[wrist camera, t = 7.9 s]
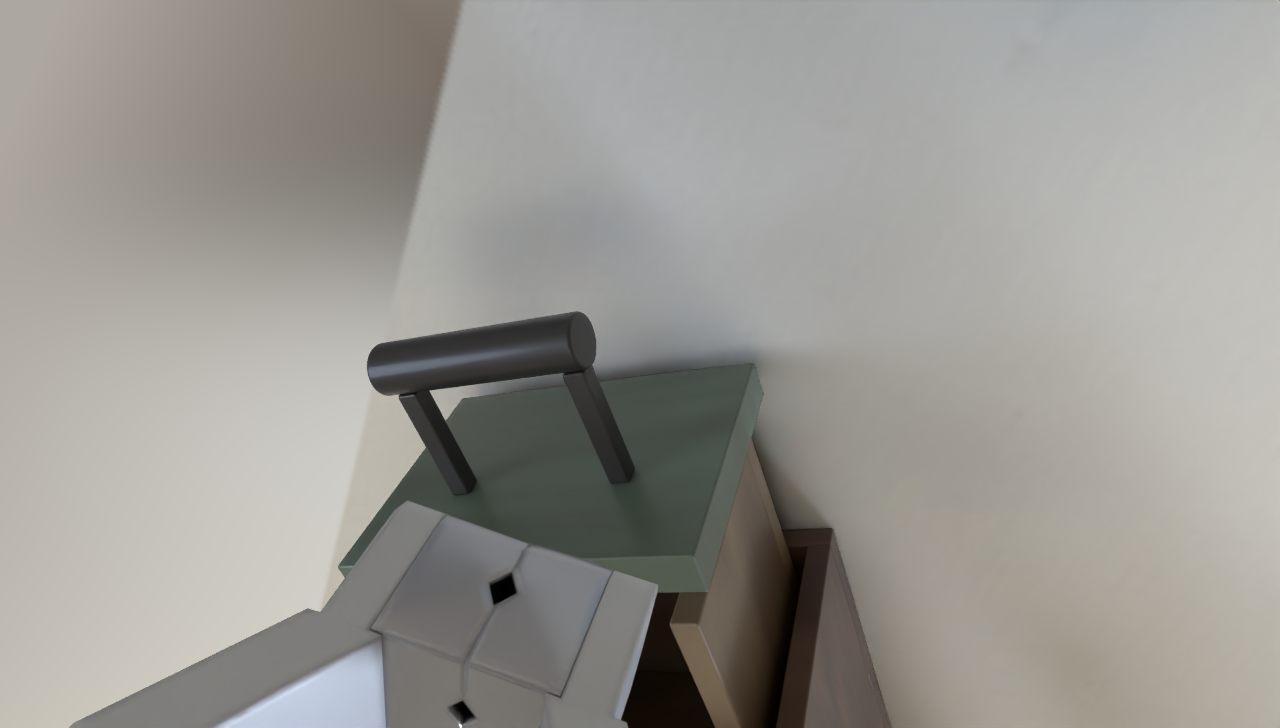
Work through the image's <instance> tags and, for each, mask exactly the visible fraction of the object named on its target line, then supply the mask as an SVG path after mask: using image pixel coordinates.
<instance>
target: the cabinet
mask: <svg viewBox="0 0 1280 728" xmlns="http://www.w3.org/2000/svg"><path fill="white" fill-rule="evenodd" d="M782 533H783V536H784V539H785V542H786V545H787V548H788V551H789V554H790V557H791V560H792V563H793V566H794V569H795V572H796V575H797V578H798V581H799V584H800V591H799V597H798V603H797V608H796V614H795V620H794V626H793V631H792V637H791V643H790V649H789V654H788V660H787V666H786V672H785V677H784V683H783V689H782V695H781V700H780V706H779V712H778V718H777V723H776V728H891V727H890V724H889V720H888V717H887V713H886V710H885V706H884V703H883V700H882V696H881V693H880V689H879V686H878V682H877V679H876V676H875V672H874V669H873V665H872V662H871V658H870V655H869V652H868V648H867V645H866V641H865V638H864V634H863V631H862V628H861V624H860V621H859V617H858V614H857V610H856V607H855V604H854V600H853V597H852V593H851V590H850V586H849V583H848V580H847V576H846V573H845V569H844V566H843V562H842V559H841V556H840V552H839V549H838V545H837V542H836V538H835V535H834V532H833V529H814V530H790V531H782Z"/></svg>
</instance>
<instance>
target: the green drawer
mask: <svg viewBox="0 0 1280 728" xmlns="http://www.w3.org/2000/svg"><path fill="white" fill-rule="evenodd" d="M595 356H596V338H595V333H594V330H593V327H592V324H591V322H590V320H589V319H588V317H587V316H586V315H585V314H583V313H581V312H577V311H576V312H570V313H564V314H558V315H552V316H546V317H540V318H533V319H527V320H521V321H515V322H509V323H503V324H497V325H491V326H484V327H478V328H472V329H466V330H460V331H454V332H448V333H442V334H435V335H429V336H423V337H417V338H411V339H405V340H399V341H392V342H386V343H381V344H378V345H377V346H375V347H374V348H373V349H372V351H371V352H370V354H369V357H368V361H367V371H368V376H369V379H370V382H371V384H372V385H373V387H374V388H375V389H376V390H377V391H378V392H379V393H381V394H383V395H387V396H391V395H398V394H400V395H399V400H400V401H401V403H402V405H403V407H404V409H405V410H406V412H407V414H408V416H409V417H410V419H411V421H412V423H413V425H414V426H415V428H416V430H417V432H418V434H419V435H420V437H421V439H422V441H423V442H424V444H425V446H426V448H425V450H424V451H423V452H422V454H421V455H420V456H419V458H418V459H417V460H416V462H415V463H414V465H413V466H412V467H411V469H410V470H409V471H408V473H407V474H406V475H405V477H404V478H403V479H402V481H401V482H400V483H399V485H398V486H397V487H396V489H395V490H394V491H393V493H392V494H391V495H390V497H389V498H388V500H387V501H386V502H385V504H384V505H383V506H382V508H381V509H380V510H379V512H378V513H377V514H376V516H375V517H374V518H373V520H372V521H371V522H370V524H369V525H368V526H367V528H366V529H365V531H364V532H363V533H362V535H361V536H360V537H359V539H358V540H357V541H356V543H355V544H354V545H353V547H352V548H351V549H350V551H349V552H348V553H347V555H346V556H345V557H344V559H343V560H342V562H341V563H340V564H339V566H338V568H339V570H340V571H341V573H342V574H343V576H344V577H345V578H346V576H347V575H348V573H349V572H350V571H351V569H352V568H353V567H354V565H355V564H356V562H357V561H358V560H359V558H360V557H361V556H362V554H363V553H364V551H365V550H366V549H367V547H368V546H369V545H370V543H371V542H372V540H373V539H374V538H375V536H376V535H377V534H378V532H379V531H380V529H381V528H382V527H383V525H384V524H385V522H386V521H387V520H388V518H389V517H390V516H391V514H392V513H393V511H394V510H395V509H397V508H398V507H399V506H401V505H402V504H403V503H405V502H406V501H410V502H413V503H416V504H419V505H422V506H425V507H428V508H430V509H433V510H436V511H439V512H442V513H445V514H448V515H451V516H453V517H456V518H459V519H462V520H464V521H467V522H470V523H473V524H475V525H478V526H481V527H484V528H486V529H489V530H492V531H495V532H497V533H500V534H503V535H506V536H508V537H511V538H514V539H517V540H519V541H522V542H525V543H528V544H530V543H534V544H537V545H540V546H543V547H546V548H549V549H553V550H556V551H559V552H562V553H565V554H568V555H571V556H575V557H578V558H581V559H584V560H587V561H590V562H594V563H597V564H600V565H603V566H606V567H609V568H612V569H614V571H618V572H621V573H624V574H627V575H630V576H633V577H636V578H639V579H642V580H645V581H649V582H652V583H655V584H658V591H657V595H656V599H655V603H654V607H653V610H652V614H651V618H650V622H649V625H648V629H647V633H646V637H645V641H644V644H643V648H642V652H641V655H640V659H639V662H638V666H637V669H636V673H635V676H634V680H633V683H632V687H631V690H630V693H629V696H628V699H627V702H626V705H625V708H624V711H623V714H622V717H621V720H622V721H624V722H627V726H628V728H776V723H777V718H778V712H779V706H780V700H781V695H782V689H783V683H784V677H785V672H786V666H787V660H788V654H789V649H790V643H791V637H792V631H793V626H794V620H795V614H796V608H797V603H798V597H799V591H800V584H799V581H798V578H797V575H796V572H795V569H794V566H793V563H792V560H791V557H790V554H789V551H788V548H787V545H786V542H785V539H784V536H783V533H782V530H781V527H780V524H779V520H778V517H777V514H776V511H775V508H774V505H773V502H772V499H771V496H770V493H769V490H768V487H767V484H766V481H765V478H764V475H763V472H762V469H761V466H760V463H759V460H758V457H757V454H756V451H755V448H754V445H753V442H752V439H751V437H752V434H753V430H754V427H755V423H756V420H757V416H758V412H759V409H760V405H761V402H762V398H763V395H764V393H763V390H762V387H761V384H760V380H759V377H758V374H757V371H756V368H755V364H754V363H744V364H736V365H728V366H720V367H712V368H704V369H696V370H688V371H680V372H672V373H663V374H655V375H647V376H639V377H631V378H623V379H615V380H607V381H599V380H598V378H597V376H596V373H595V371H594V369H593V366H592V364H593V362H594V360H595ZM558 373H563V378H564V381H565V383H566V385H567V386H559V387H551V388H543V389H535V390H527V391H519V392H511V393H503V394H495V395H487V396H479V397H470V398H463V399H462V400H461V401H460V403H459V404H458V405H457V407H456V408H455V409H454V411H453V412H452V413H451V415H450V416H449V417H448V419H447V420H446V421H445V419H444V417H443V416H442V414H441V412H440V410H439V408H438V406H437V404H436V403H435V401H434V399H433V397H432V395H431V393H430V391H429V390H436V389H444V388H452V387H459V386H467V385H474V384H482V383H490V382H497V381H505V380H513V379H520V378H528V377H535V376H543V375H551V374H558Z"/></svg>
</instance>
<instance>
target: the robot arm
mask: <svg viewBox="0 0 1280 728" xmlns="http://www.w3.org/2000/svg"><path fill="white" fill-rule="evenodd" d="M657 591H658V584H655V583H652V582H649V581H645V580H642V579H639V578H636V577H633V576H630V575H627V574H624V573H621V572H618V571H614V569H612V568H609V567H606V566H603V565H600V564H597V563H594V562H590V561H587V560H584V559H581V558H578V557H575V556H571V555H568V554H565V553H562V552H559V551H556V550H553V549H549V548H546V547H543V546H540V545H537V544H534V543H530V544H528V543H525V542H522V541H519V540H517V539H514V538H511V537H508V536H506V535H503V534H500V533H497V532H495V531H492V530H489V529H486V528H484V527H481V526H478V525H475V524H473V523H470V522H467V521H464V520H462V519H459V518H456V517H453V516H451V515H448V514H445V513H442V512H439V511H436V510H433V509H430V508H428V507H425V506H422V505H419V504H416V503H413V502H410V501H406V502H405V503H403V504H402V505H401V506H399V507H398V508H397V509H395V510H394V511H393V513H392V514H391V516H390V517H389V518H388V520H387V521H386V522H385V524H384V525H383V527H382V528H381V529H380V531H379V532H378V534H377V535H376V536H375V538H374V539H373V540H372V542H371V543H370V545H369V546H368V547H367V549H366V550H365V551H364V553H363V554H362V556H361V557H360V558H359V560H358V561H357V562H356V564H355V565H354V567H353V568H352V569H351V571H350V572H349V573H348V575H347V576H346V578H345V579H344V580H343V582H342V583H341V585H340V586H339V587H338V589H337V590H336V591H335V593H334V594H333V596H332V597H331V598H330V600H329V601H328V602H327V604H326V605H325V607H324V608H323V609H322V611H321V612H318V611H314V610H311V609H306V610H303V611H301V612H300V613H297V614H295V615H293V616H291V617H289V618H287V619H285V620H283V621H281V622H279V623H277V624H275V625H273V626H271V627H269V628H267V629H265V630H263V631H261V632H259V633H257V634H254V635H252V636H251V637H248V638H246V639H244V640H242V641H240V642H238V643H236V644H234V645H232V646H230V647H228V648H226V649H224V650H222V651H220V652H218V653H216V654H214V655H212V656H210V657H208V658H205V659H204V660H201V661H199V662H197V663H195V664H193V665H191V666H189V667H187V668H185V669H183V670H181V671H179V672H177V673H175V674H173V675H171V676H169V677H167V678H165V679H163V680H161V681H159V682H157V683H155V684H153V685H150V686H149V687H146V688H144V689H142V690H140V691H138V692H136V693H134V694H132V695H130V696H128V697H126V698H124V699H122V700H120V701H118V702H116V703H114V704H112V705H110V706H108V707H106V708H103V709H102V710H99V711H97V712H95V713H93V714H91V715H89V716H87V717H85V718H83V719H81V720H79V721H77V722H75V723H73V724H72V725H71V726H70V727H69V728H628V726H627V722H624V721H622V720H621V717H622V714H623V711H624V708H625V705H626V702H627V699H628V696H629V693H630V690H631V687H632V683H633V680H634V676H635V673H636V669H637V666H638V662H639V659H640V655H641V652H642V648H643V644H644V641H645V637H646V633H647V629H648V625H649V622H650V618H651V614H652V610H653V607H654V603H655V599H656V595H657Z"/></svg>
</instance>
